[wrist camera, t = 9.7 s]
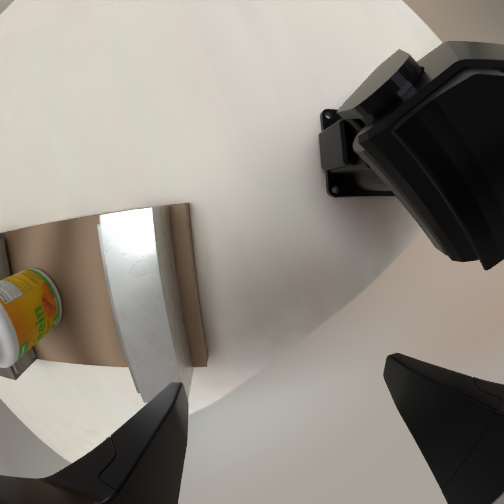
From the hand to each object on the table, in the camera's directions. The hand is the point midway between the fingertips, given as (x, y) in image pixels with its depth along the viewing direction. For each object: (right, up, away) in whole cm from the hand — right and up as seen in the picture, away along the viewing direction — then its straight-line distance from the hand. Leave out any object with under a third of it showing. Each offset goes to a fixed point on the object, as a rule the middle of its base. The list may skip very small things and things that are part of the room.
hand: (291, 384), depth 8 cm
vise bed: (-15, +1, +11) cm, 19 cm away
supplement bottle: (-19, +1, +9) cm, 21 cm away
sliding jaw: (-8, +1, +10) cm, 12 cm away
